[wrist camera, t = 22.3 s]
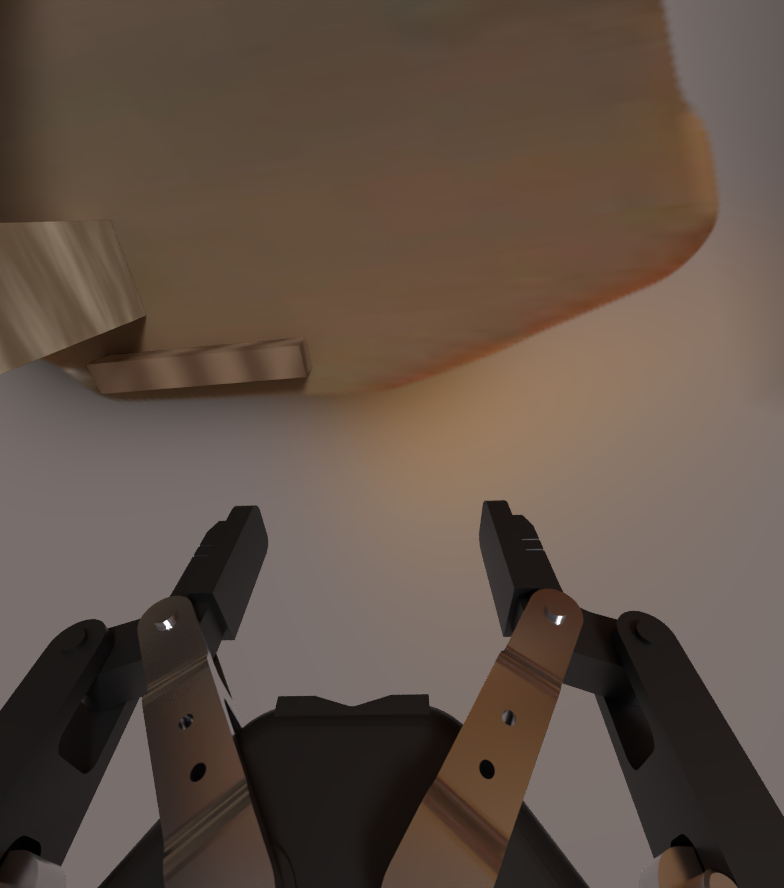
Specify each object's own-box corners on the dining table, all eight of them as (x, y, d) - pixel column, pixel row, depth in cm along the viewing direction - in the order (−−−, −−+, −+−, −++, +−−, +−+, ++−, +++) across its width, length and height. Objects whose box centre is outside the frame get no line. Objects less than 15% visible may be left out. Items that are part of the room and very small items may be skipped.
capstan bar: (306, 336, 42) (299, 345, 39) (312, 365, 44) (306, 376, 41) (107, 354, 44) (85, 364, 41) (121, 382, 45) (101, 394, 42)
